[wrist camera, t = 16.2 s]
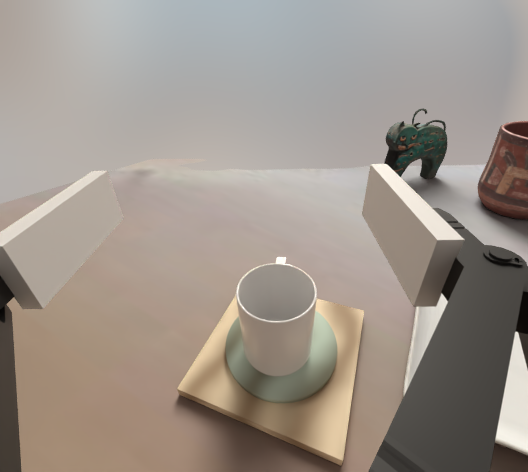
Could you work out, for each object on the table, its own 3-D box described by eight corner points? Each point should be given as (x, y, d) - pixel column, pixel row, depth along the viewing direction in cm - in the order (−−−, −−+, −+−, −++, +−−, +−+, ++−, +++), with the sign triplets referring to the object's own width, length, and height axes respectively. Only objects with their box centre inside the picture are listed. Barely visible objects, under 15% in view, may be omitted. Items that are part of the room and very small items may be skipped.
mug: (311, 385, 33) (318, 326, 27) (237, 377, 35) (227, 319, 28) (310, 306, 43) (315, 248, 37) (253, 302, 44) (248, 245, 38)
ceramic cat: (386, 192, 77) (404, 114, 66) (370, 183, 82) (385, 109, 71) (441, 178, 83) (467, 104, 71) (423, 171, 88) (445, 100, 76)
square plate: (767, 591, 22) (822, 586, 20) (394, 417, 33) (402, 401, 31) (619, 328, 41) (639, 310, 39) (414, 272, 52) (420, 256, 50)
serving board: (179, 394, 36) (175, 384, 34) (246, 286, 51) (244, 275, 49) (341, 465, 29) (344, 457, 28) (362, 317, 44) (365, 306, 43)
